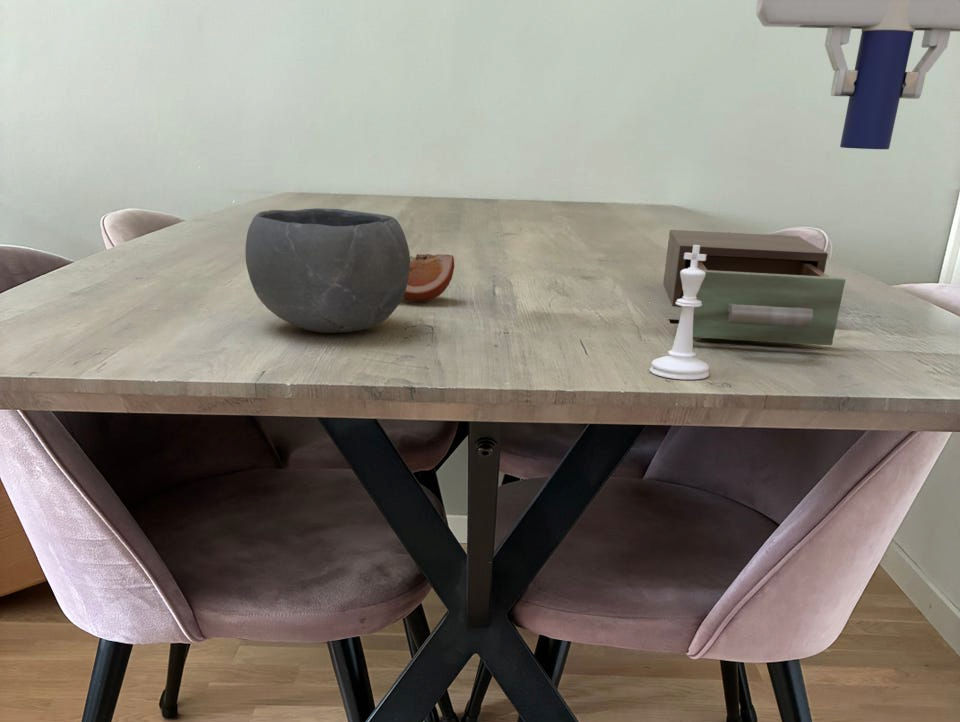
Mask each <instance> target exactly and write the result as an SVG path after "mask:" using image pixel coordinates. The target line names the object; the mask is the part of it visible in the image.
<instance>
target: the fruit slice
mask: <svg viewBox="0 0 960 722" xmlns="http://www.w3.org/2000/svg"><path fill="white" fill-rule="evenodd" d="M454 270H455V257H454V255H453V254H443V253H442V254H440V253H439V254H438V253H437V254H435V255H434V254H430V253H425V254H419V253H417V254H416V255H415V256H412V255H410V272H409V278H408V284H407V288H406V291H405V294H404V296H403V298H402V299H405V300H407V301H410V302H413V303H425V302H429V301H431V300H434V299H436V298H438V297H439V296H440V295H442V294H443V293H444V292H445V291H446V290H447V288H448V286H449V285H450V284H451V281H452V279H453V275H454Z"/></svg>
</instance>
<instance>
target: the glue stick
mask: <svg viewBox="0 0 960 722" xmlns="http://www.w3.org/2000/svg"><path fill="white" fill-rule="evenodd" d="M910 2H911V0H888V6H887V13H886V15H885V17H884V19H883V20H882V22H881V23H880V24H879V25H877V26H871V27H870V26H862V29H860V30H861V34H860V39H859V45H858V50H857V56H856V60H855V64H854V65H855V66H854V70H858V74H857V79H856V81H855V82H854V85H855V90H854V93H853V96H848V97H849V98H848V103H847V107H846V113H845V119H844V124H843V129H842V133H841V134H842V135H841V138H840V139H841V140H840V145H839V148H843V149H860V150H889V149H890V147H891V141H892V137H893V132H894V128H895V124H896V117H897V114H898V108H899V104H900V99H901V98H900V95H901V90H902V86H903V81H904V76H905V72H907V66H908V61H909V57H910V54H911V53H910V52H911V47H912V43H913V40H914V39H913V38H914V35H915V34H914V33H915V31H916V30H915V28H913V27H911V26H910V25H909V23H908V11H909V7H910Z"/></svg>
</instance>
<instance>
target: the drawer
mask: <svg viewBox="0 0 960 722" xmlns="http://www.w3.org/2000/svg"><path fill="white" fill-rule="evenodd" d="M690 265H691V260H690V259H688V265H687V269H688V267H690ZM697 268H699V269H700V270H703V271H704V272H705V273H706V275H705V278H704V280H703V281H702V284H701V286H700V289H699V291H698V293H697V295H696V297H697V298H696V300H700V301H701V302H702V303H701V304H702V306H700V307H694V315H693V338H700V339H715V340H716V339H717V340H733V341H734V340H735V341H750V342H751V341H752V342H764V343H765V342H767V343H784V344H785V343H786V344H799V345H800V344H802V345H816V346H817V345H818V346H819V345H820V346H833V341H834V335H835V331H836V326H837V321H838V317H839V312H840V308H841V303H842V298H843V293H844V288H845V284H846V279H845V278H844V277H841V276H840V277H839V276H838V277H837V276H829V275H828V274H827V273H825V271H824V272H822V271H821V270H819V269H818V268H816V267H815V266H813V265H812V264H810V263H809V262H808V261H800V260H781V259H763V258H744V257H725V256H707V255H706V261H699V260H698V265H697ZM683 296H684V294H682V297H683Z"/></svg>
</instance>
